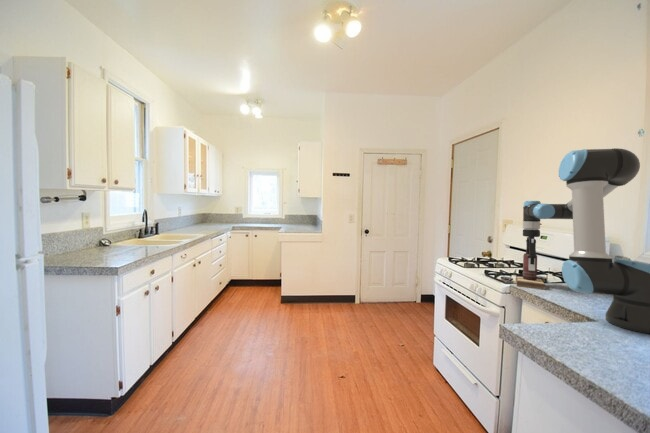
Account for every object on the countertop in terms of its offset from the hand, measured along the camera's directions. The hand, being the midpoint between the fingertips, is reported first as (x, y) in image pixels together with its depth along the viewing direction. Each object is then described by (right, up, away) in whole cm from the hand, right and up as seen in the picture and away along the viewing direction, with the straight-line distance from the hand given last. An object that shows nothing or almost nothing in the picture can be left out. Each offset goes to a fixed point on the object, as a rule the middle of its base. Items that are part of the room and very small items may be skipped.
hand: (530, 268), depth 150 cm
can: (+1, -7, +2) cm, 7 cm away
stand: (0, -9, +1) cm, 9 cm away
